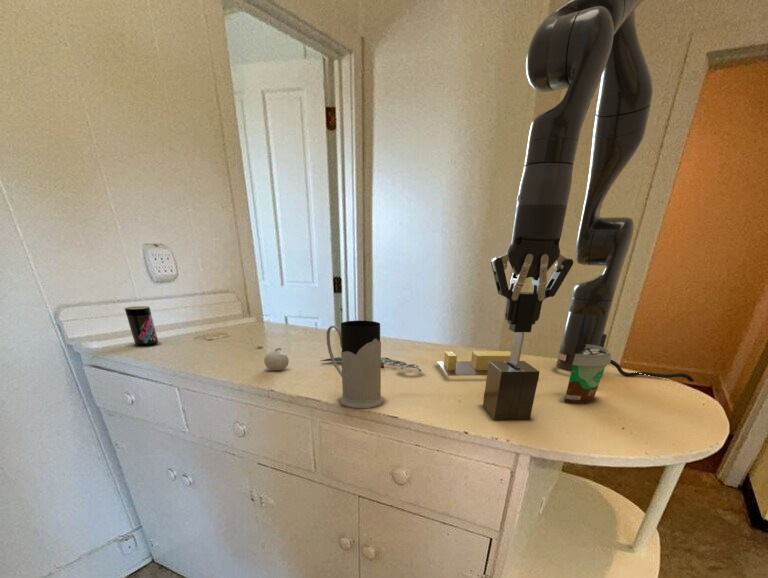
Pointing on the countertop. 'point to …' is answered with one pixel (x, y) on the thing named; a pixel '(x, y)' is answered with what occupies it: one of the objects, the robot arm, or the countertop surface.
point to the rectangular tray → (462, 369)
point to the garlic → (276, 360)
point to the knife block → (510, 390)
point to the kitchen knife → (522, 325)
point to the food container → (587, 374)
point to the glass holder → (359, 363)
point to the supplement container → (141, 325)
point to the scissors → (385, 361)
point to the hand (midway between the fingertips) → (521, 323)
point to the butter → (488, 358)
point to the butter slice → (450, 360)
